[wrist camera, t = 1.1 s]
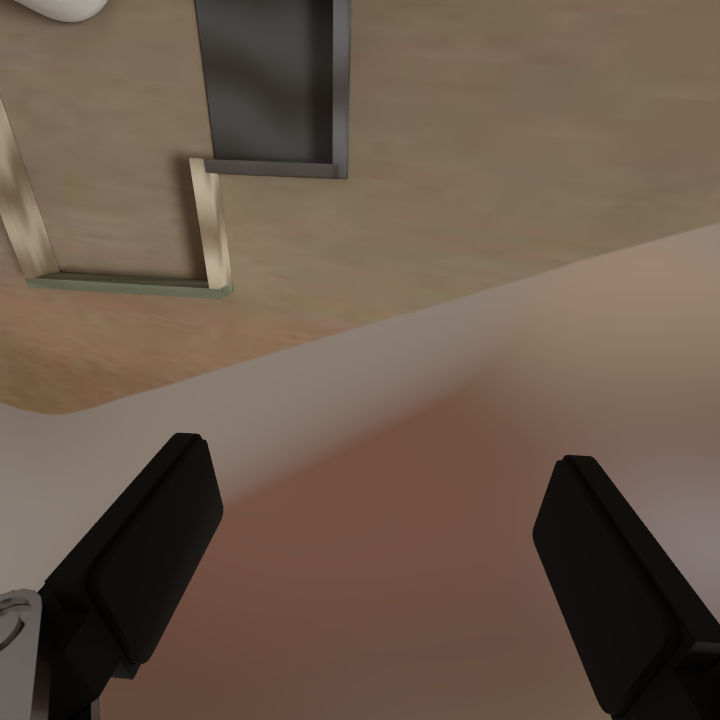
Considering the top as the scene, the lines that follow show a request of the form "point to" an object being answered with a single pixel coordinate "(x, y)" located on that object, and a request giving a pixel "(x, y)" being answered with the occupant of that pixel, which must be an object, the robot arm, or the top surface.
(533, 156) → the top surface
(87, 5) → the cup
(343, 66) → the box
